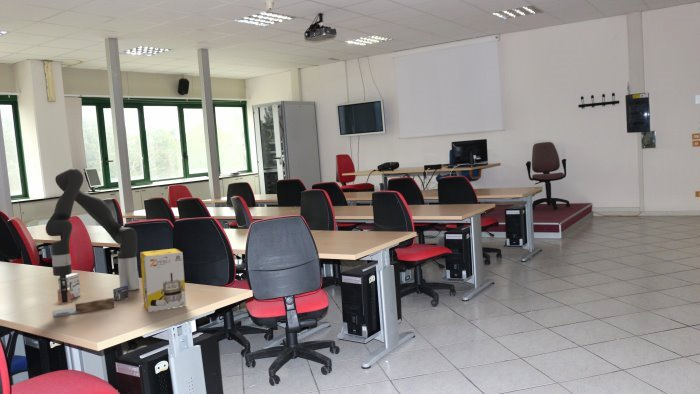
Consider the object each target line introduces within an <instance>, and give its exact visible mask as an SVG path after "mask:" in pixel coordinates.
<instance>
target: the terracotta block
mask: <svg viewBox="0 0 700 394" xmlns="http://www.w3.org/2000/svg"><path fill="white" fill-rule="evenodd" d="M62 291H66V289H62ZM67 291H68V293H67V299H68V302H65V303H62V295H61V290H60V288H58V289H57V291H56V292H57V302H58V305H63V304H65V305H66V304H71V303H72V299H71V294H70V288H68V289H67Z"/></svg>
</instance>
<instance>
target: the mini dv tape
mask: <svg viewBox="0 0 700 394" xmlns="http://www.w3.org/2000/svg"><path fill="white" fill-rule="evenodd" d="M112 293H113V298H114V302H120V301H123V300H126V299H128V298H129V291H128V286H123V287H120V286H119V287H116V288H114V289H112Z"/></svg>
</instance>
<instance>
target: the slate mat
mask: <svg viewBox="0 0 700 394" xmlns="http://www.w3.org/2000/svg"><path fill="white" fill-rule="evenodd" d="M52 314H53V318H59V317H65V316H71V315H77V314H80V312H79V311H77V312H76V306H75V307H68V308H61V309H53V310H52Z"/></svg>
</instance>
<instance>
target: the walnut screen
mask: <svg viewBox="0 0 700 394" xmlns="http://www.w3.org/2000/svg"><path fill="white" fill-rule="evenodd" d="M75 307H76V312H77V311H79V313H84V312H90V311H98V310H103V309H105V310H106V309H110V308H115V301H114V297H110V298H104V299H96V300H95V299H94V300H88V301H83V302H76V303H75Z"/></svg>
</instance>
